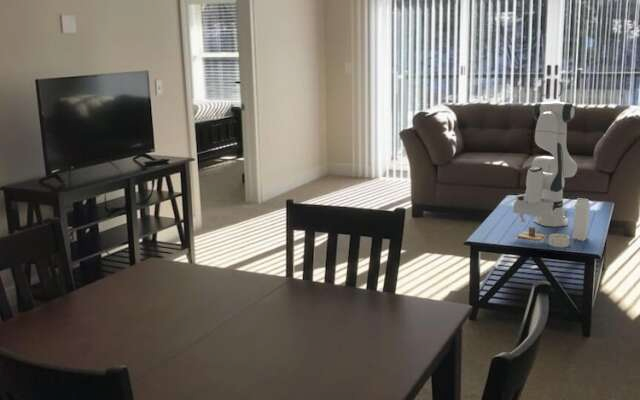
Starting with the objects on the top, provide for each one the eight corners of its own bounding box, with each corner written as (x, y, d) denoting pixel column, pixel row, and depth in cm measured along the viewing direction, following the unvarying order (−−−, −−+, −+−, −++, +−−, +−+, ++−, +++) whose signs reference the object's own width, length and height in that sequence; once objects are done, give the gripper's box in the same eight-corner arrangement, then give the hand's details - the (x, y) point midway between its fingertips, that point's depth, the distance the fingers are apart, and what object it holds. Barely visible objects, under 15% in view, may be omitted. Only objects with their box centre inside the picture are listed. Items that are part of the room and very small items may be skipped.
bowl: (551, 242, 364) (551, 232, 363) (570, 244, 359) (571, 235, 358) (546, 246, 356) (547, 237, 354) (566, 249, 351) (567, 239, 350)
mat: (522, 232, 381) (522, 232, 381) (548, 236, 374) (548, 235, 374) (514, 238, 370) (515, 238, 370) (541, 242, 363) (541, 241, 362)
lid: (523, 232, 380) (523, 223, 379) (545, 235, 374) (546, 226, 373) (517, 238, 370) (517, 229, 369) (540, 241, 364) (540, 231, 363)
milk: (576, 236, 373) (578, 196, 368) (587, 238, 369) (590, 198, 364) (572, 239, 368) (575, 198, 363) (584, 240, 364) (587, 200, 360)
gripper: (555, 198, 364) (553, 224, 367) (516, 194, 374) (514, 219, 377) (552, 200, 359) (550, 226, 362) (513, 196, 369) (511, 221, 372)
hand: (531, 223), depth 370 cm, fingers open, 8 cm apart
